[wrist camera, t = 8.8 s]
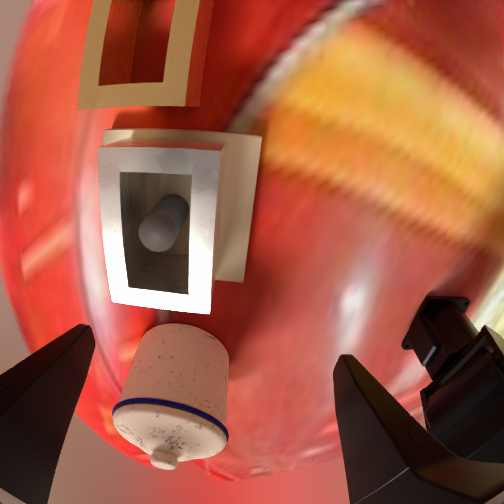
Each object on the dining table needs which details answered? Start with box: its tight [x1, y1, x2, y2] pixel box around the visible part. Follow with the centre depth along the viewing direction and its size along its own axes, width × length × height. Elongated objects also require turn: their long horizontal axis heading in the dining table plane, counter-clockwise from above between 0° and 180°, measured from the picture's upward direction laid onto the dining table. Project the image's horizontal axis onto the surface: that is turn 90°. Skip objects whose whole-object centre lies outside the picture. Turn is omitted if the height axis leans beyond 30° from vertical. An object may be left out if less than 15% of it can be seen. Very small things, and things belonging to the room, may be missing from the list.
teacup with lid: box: [112, 323, 229, 470], centre depth 21 cm, size 12×9×12 cm
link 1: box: [78, 0, 215, 110], centre depth 12 cm, size 9×6×4 cm, turn 173°
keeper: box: [103, 128, 262, 283], centre depth 17 cm, size 10×10×5 cm
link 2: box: [98, 137, 228, 314], centre depth 16 cm, size 9×6×4 cm, turn 173°
